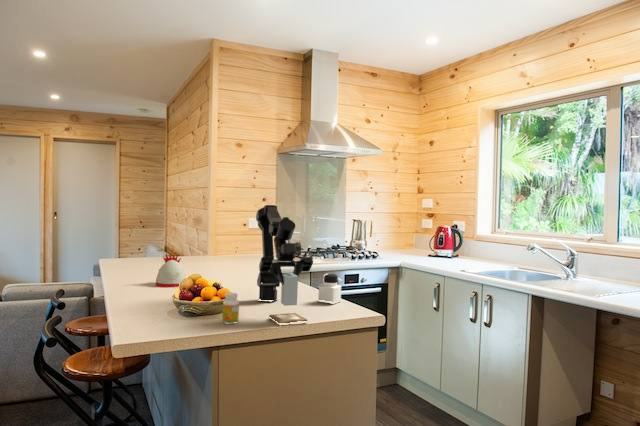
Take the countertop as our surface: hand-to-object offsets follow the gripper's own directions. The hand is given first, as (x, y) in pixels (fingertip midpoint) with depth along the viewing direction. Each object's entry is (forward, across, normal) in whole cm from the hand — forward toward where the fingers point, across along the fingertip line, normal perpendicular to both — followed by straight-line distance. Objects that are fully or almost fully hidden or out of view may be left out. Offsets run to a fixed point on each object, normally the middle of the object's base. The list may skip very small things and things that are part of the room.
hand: (289, 283), depth 161 cm
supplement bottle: (+8, -20, +11) cm, 24 cm away
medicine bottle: (-10, +25, +29) cm, 40 cm away
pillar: (+5, 0, +5) cm, 7 cm away
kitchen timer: (-44, -37, +64) cm, 86 cm away
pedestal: (+9, 0, +10) cm, 13 cm away
